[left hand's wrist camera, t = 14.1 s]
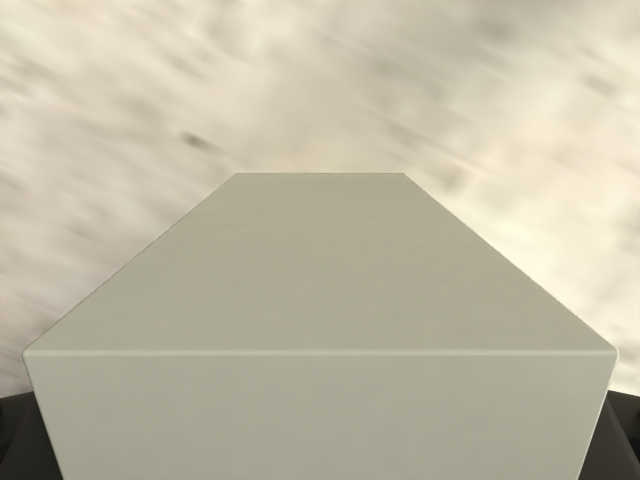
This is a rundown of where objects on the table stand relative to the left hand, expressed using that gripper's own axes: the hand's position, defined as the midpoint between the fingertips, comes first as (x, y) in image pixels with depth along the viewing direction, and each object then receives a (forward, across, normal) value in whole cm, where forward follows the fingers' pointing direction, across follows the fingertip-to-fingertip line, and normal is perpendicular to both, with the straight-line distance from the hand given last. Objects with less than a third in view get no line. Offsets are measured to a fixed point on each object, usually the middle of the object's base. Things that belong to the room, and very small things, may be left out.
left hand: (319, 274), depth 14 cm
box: (+2, 0, -8) cm, 8 cm away
